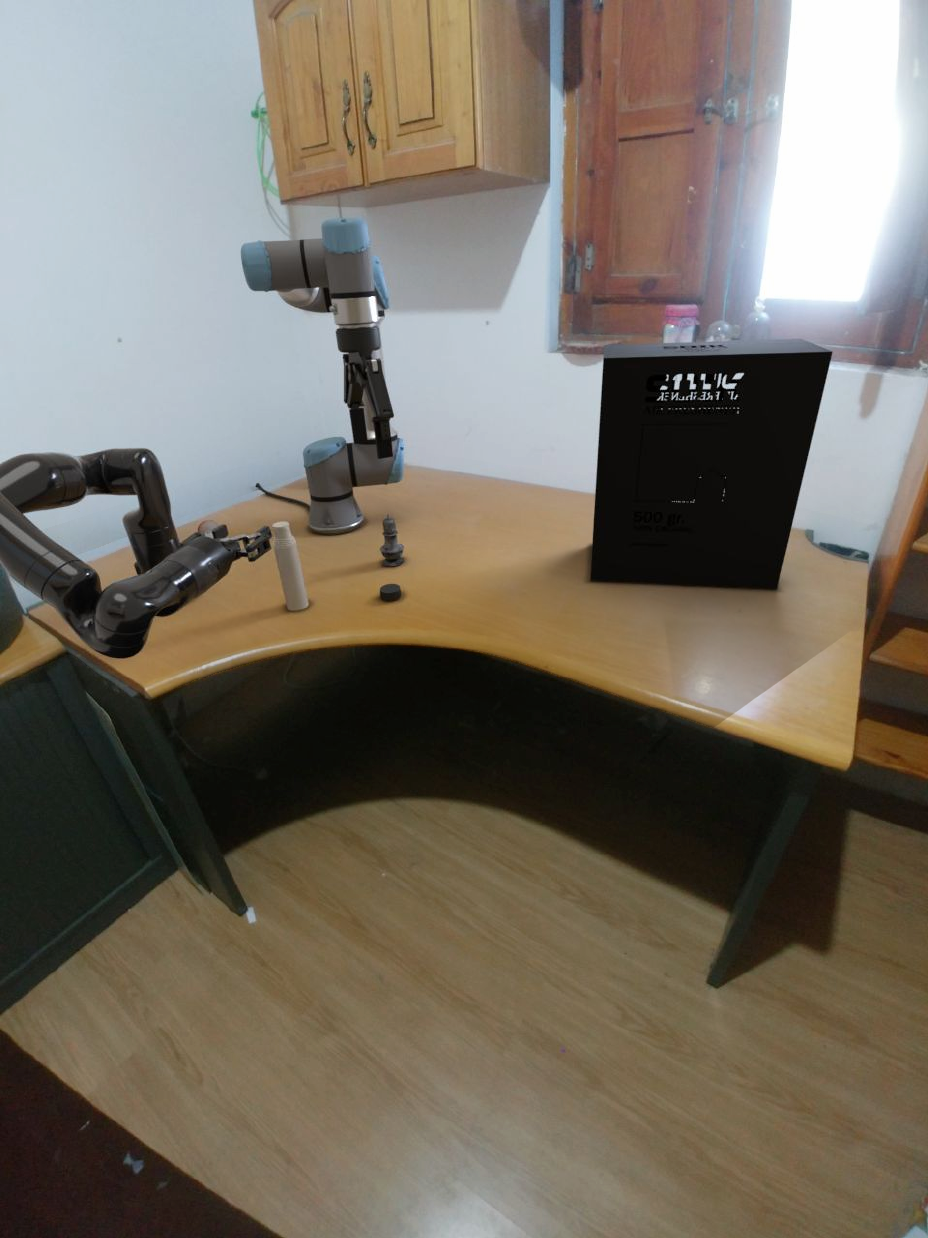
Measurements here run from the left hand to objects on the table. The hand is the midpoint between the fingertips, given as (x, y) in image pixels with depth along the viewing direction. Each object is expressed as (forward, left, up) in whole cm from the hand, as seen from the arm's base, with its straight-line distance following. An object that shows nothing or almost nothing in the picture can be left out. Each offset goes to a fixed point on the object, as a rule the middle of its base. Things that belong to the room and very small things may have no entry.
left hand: (247, 530), depth 108 cm
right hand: (+19, +18, +10) cm, 28 cm away
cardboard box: (+79, +40, -22) cm, 91 cm away
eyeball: (-40, +42, -22) cm, 62 cm away
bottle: (0, +11, -22) cm, 25 cm away
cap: (+19, +18, -20) cm, 33 cm away
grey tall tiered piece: (+14, +35, -22) cm, 43 cm away
